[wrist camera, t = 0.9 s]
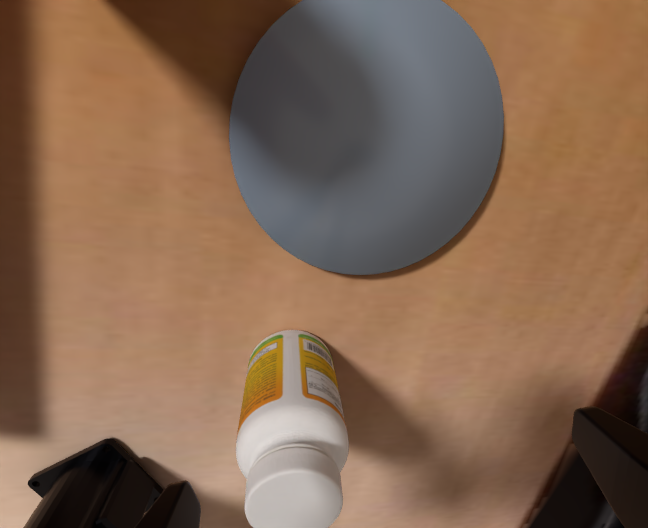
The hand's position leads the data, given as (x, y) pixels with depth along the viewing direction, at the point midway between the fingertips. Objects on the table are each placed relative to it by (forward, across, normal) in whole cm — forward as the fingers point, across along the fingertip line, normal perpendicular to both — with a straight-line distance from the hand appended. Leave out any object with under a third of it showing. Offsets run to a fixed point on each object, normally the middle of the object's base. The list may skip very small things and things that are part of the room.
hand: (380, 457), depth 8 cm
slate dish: (+14, -3, -5) cm, 15 cm away
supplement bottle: (+14, +4, +7) cm, 16 cm away
